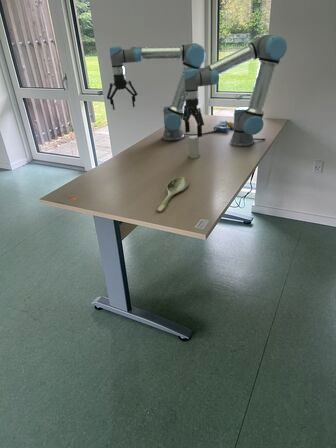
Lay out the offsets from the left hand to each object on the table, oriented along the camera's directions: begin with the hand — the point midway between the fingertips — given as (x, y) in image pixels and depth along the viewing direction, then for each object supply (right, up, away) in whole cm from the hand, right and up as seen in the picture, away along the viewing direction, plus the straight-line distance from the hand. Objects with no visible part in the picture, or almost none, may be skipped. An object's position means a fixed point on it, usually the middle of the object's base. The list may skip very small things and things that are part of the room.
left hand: (123, 108), depth 224 cm
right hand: (+45, -23, -19) cm, 54 cm away
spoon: (+32, -63, -57) cm, 91 cm away
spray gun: (+74, -5, +33) cm, 81 cm away
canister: (+46, -35, -12) cm, 59 cm away
